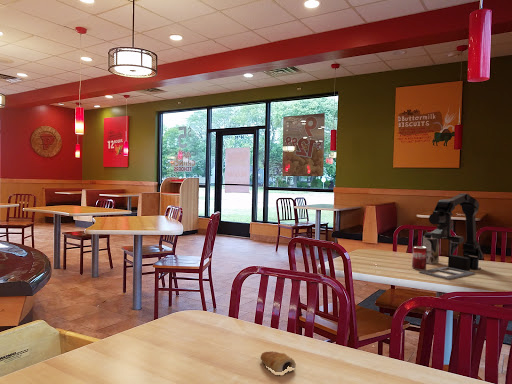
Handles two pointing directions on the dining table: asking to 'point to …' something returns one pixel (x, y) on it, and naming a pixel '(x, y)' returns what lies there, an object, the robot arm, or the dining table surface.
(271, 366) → the pastry
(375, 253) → the dining table surface
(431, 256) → the coffee box
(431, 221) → the robot arm
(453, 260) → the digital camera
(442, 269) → the label frame
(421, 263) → the soda can
